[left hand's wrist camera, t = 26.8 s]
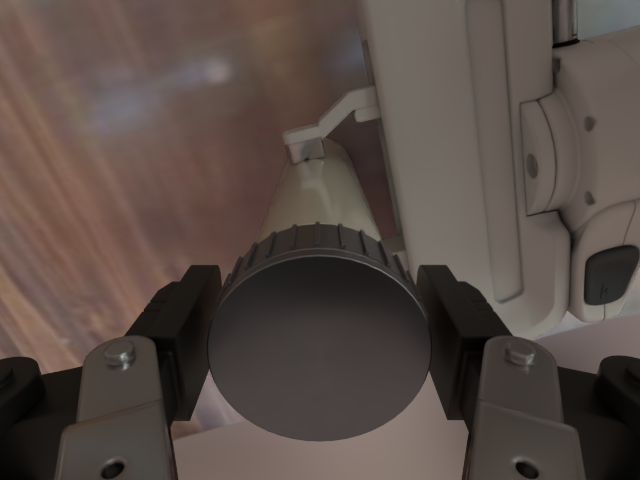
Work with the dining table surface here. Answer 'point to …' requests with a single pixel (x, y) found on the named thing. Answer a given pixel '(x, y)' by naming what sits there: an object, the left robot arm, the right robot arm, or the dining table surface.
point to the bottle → (320, 195)
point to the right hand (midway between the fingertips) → (301, 204)
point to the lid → (319, 334)
